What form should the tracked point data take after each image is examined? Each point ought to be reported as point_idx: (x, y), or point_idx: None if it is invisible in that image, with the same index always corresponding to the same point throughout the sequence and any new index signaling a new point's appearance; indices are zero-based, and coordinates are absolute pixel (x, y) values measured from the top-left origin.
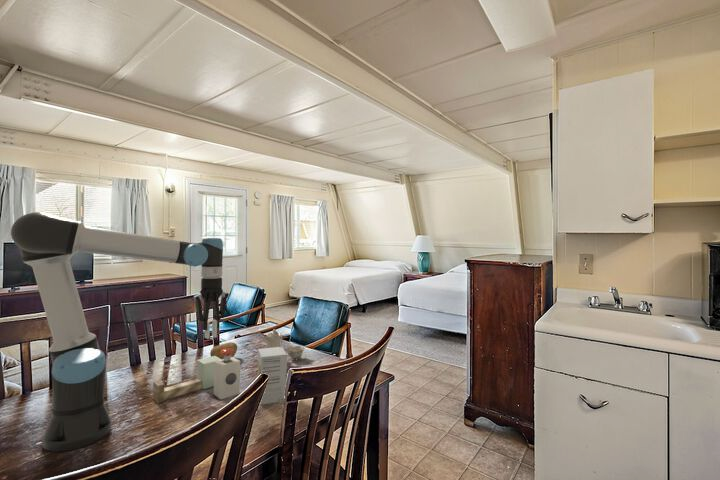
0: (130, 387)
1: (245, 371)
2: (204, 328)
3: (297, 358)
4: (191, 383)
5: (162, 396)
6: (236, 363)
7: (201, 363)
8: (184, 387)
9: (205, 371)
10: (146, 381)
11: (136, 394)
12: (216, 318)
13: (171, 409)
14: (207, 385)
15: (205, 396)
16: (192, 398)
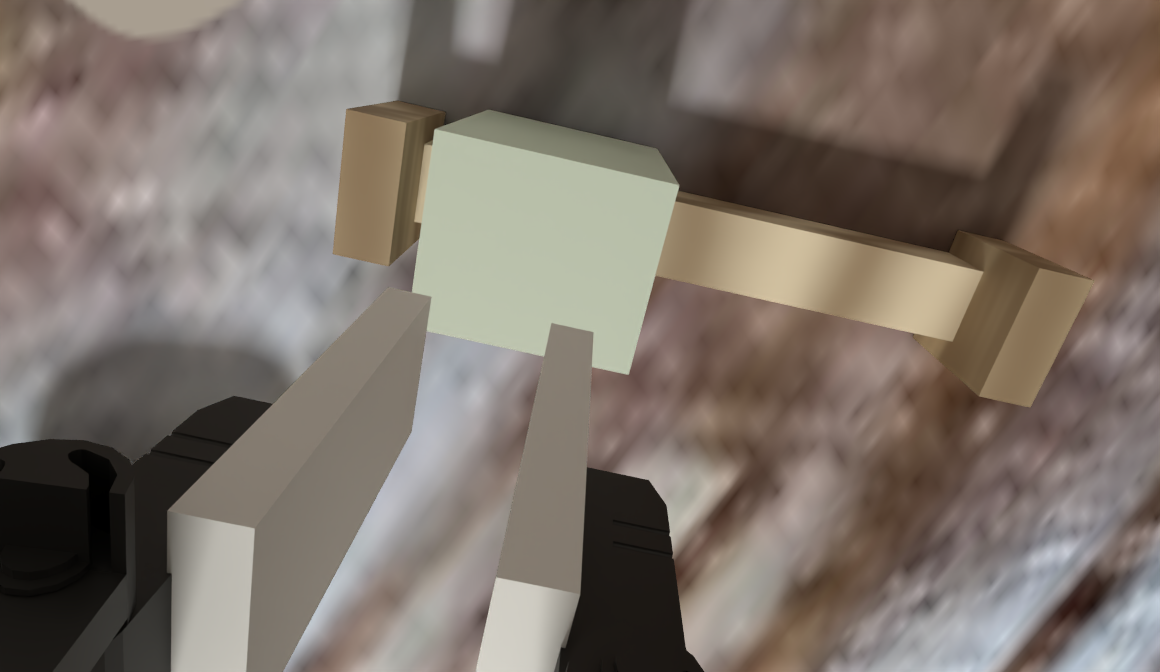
0: (889, 626)
1: (163, 171)
2: (652, 516)
3: None
4: (741, 223)
5: (992, 243)
6: None
7: (660, 250)
8: (804, 227)
9: (648, 166)
10: (772, 632)
11: (952, 500)
12: (111, 625)
13: (1042, 37)
14: (620, 141)
15: (733, 7)
16: (816, 75)
